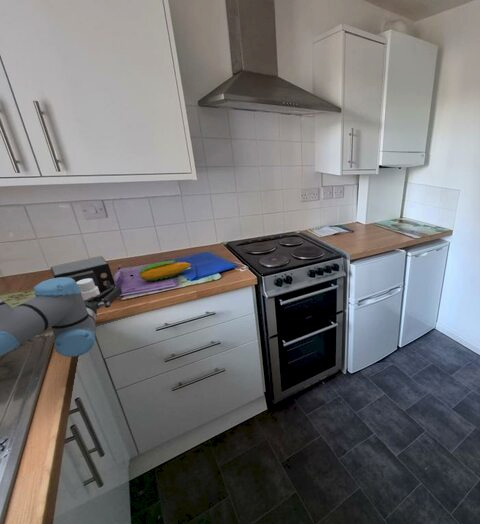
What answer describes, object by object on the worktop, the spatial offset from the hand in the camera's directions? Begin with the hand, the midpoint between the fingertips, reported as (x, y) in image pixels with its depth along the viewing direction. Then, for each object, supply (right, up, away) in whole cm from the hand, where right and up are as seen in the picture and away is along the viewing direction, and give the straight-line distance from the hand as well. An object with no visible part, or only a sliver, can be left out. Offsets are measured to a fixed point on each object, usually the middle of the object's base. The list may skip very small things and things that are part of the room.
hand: (84, 289), depth 101 cm
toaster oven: (-16, -3, +20) cm, 26 cm away
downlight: (-6, -7, +11) cm, 14 cm away
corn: (+8, +2, +33) cm, 34 cm away
